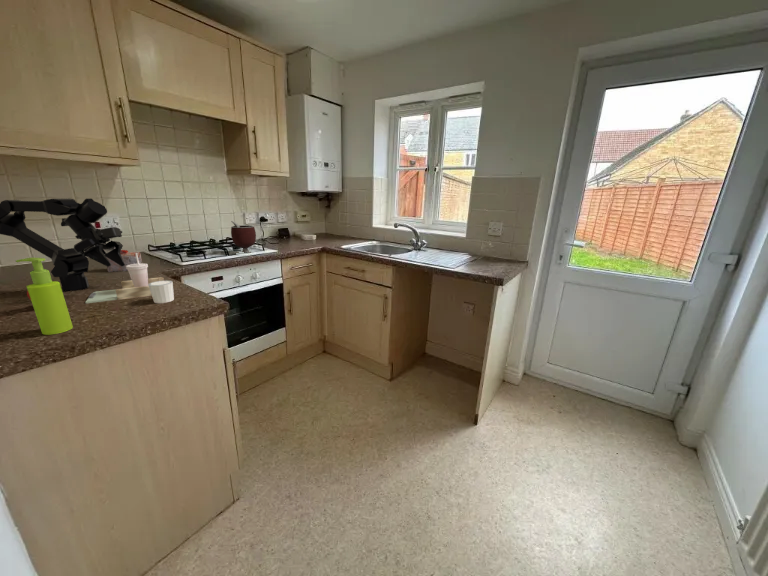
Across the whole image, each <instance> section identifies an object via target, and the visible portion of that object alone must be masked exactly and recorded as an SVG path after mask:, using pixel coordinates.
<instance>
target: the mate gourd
mask: <svg viewBox="0 0 768 576" xmlns="http://www.w3.org/2000/svg"><path fill="white" fill-rule="evenodd" d="M231 223H232V224H233V225H231V227H230V236H231V240H232V243H233V244H234V245H235V246H237V247H239V248H242V251H241V252H244V253H246V252H247V253H251V252H249V251H250V250H249V248H251V247H252V246H254V245H255V243H256V240H257V235H256V234H257V233H256V229H255V225H249V224H248V225H247V224H246V225H244V224H243V225H239V224H238V223H237V222H235V221H233V220H231Z"/></svg>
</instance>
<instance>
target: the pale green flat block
mask: <svg viewBox="0 0 768 576" xmlns="http://www.w3.org/2000/svg"><path fill="white" fill-rule="evenodd" d="M116 289H117V288H116ZM116 289H109V290H108V289H107V290H100V291H93V292H91V294H89V296H88V298H87V299H86V301H85V304H92V303H93V304H95V303H100V302H101V303H102V302H109V301H117V300H118V298H117V294H116Z"/></svg>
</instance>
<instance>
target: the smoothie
mask: <svg viewBox="0 0 768 576" xmlns="http://www.w3.org/2000/svg"><path fill="white" fill-rule="evenodd" d="M135 255H136V260H137V264H131V265H127V266H126V269H128V271H127V272H128V274H129V277H130V280H132V282H133V284H134V287H142V286H148V279H149V275H148V272H149V271H148V268H149V265H148V263H144V262H142V263H139V260H138V255H137V253H135Z"/></svg>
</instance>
